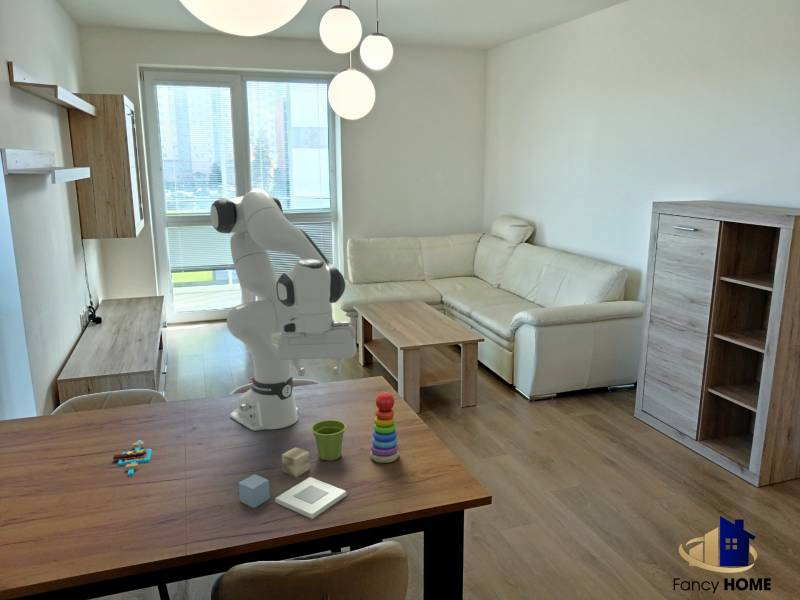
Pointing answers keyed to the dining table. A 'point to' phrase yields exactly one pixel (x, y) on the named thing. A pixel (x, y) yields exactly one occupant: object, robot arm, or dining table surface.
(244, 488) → the slate blue block
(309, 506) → the plate
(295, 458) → the maple block
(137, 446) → the gear mechanism
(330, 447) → the plant pot
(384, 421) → the stacking toy
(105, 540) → the dining table surface
